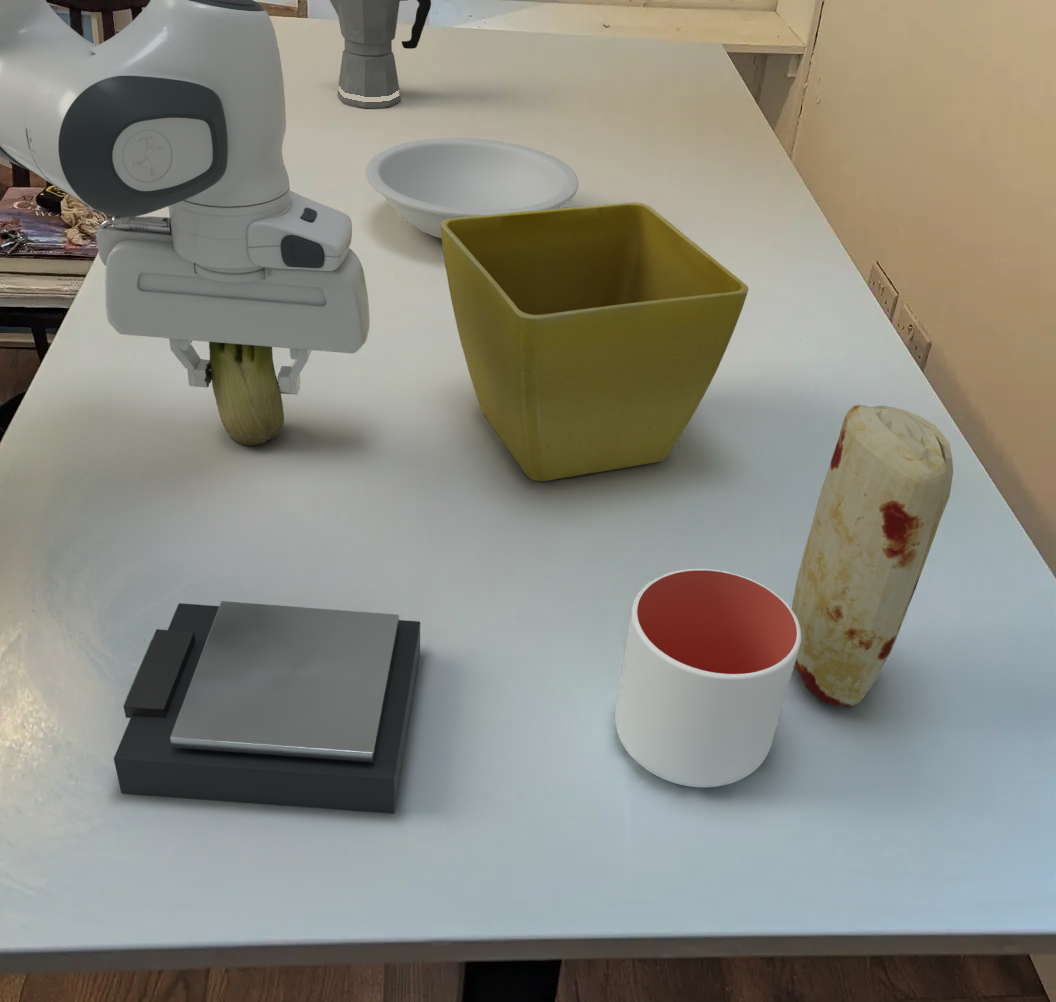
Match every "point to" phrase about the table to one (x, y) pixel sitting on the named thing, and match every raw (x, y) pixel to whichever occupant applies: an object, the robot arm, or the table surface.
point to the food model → (868, 547)
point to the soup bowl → (467, 180)
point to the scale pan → (290, 683)
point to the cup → (705, 676)
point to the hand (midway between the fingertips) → (246, 387)
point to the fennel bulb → (246, 391)
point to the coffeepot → (372, 48)
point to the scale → (249, 776)
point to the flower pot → (587, 331)
